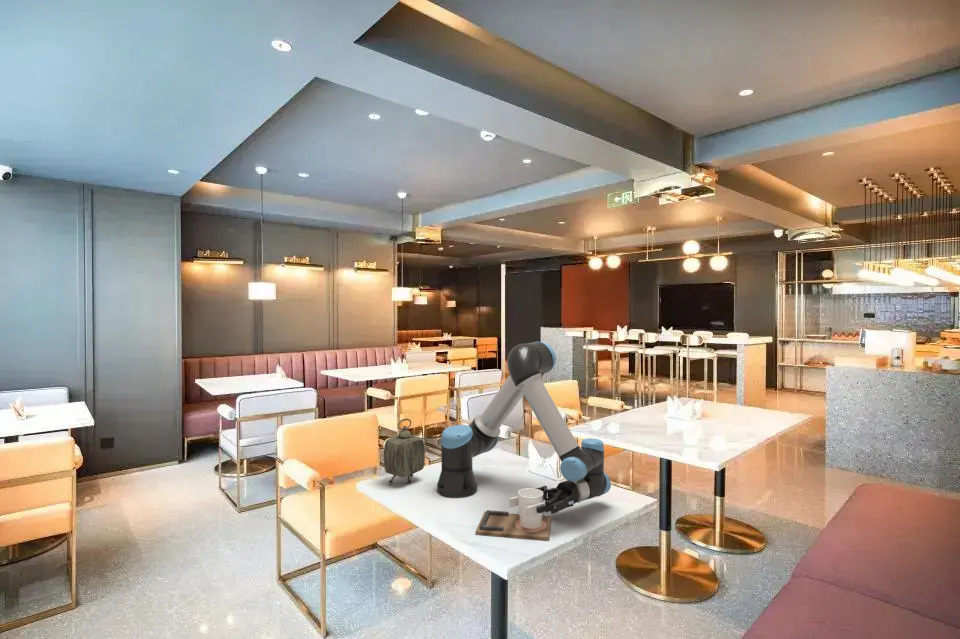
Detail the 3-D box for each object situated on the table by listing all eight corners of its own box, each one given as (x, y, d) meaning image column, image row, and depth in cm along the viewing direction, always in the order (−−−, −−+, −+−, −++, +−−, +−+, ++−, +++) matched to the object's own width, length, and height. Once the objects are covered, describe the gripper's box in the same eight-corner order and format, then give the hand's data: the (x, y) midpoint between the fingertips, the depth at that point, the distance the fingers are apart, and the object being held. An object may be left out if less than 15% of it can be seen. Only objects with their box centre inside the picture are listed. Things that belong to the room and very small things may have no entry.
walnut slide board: (475, 534, 151) (475, 528, 151) (484, 514, 166) (484, 508, 166) (549, 540, 147) (549, 534, 147) (551, 519, 162) (551, 513, 162)
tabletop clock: (411, 474, 205) (411, 414, 204) (427, 479, 199) (426, 417, 199) (383, 484, 194) (383, 420, 193) (399, 490, 188) (398, 424, 188)
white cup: (542, 531, 151) (542, 498, 151) (516, 529, 152) (516, 496, 152) (544, 520, 159) (544, 488, 158) (519, 518, 160) (519, 487, 160)
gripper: (595, 513, 157) (540, 531, 144) (551, 493, 174) (498, 508, 161) (595, 489, 157) (540, 506, 144) (551, 471, 174) (498, 485, 161)
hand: (518, 507), depth 152 cm, fingers closed on white cup, 8 cm apart
